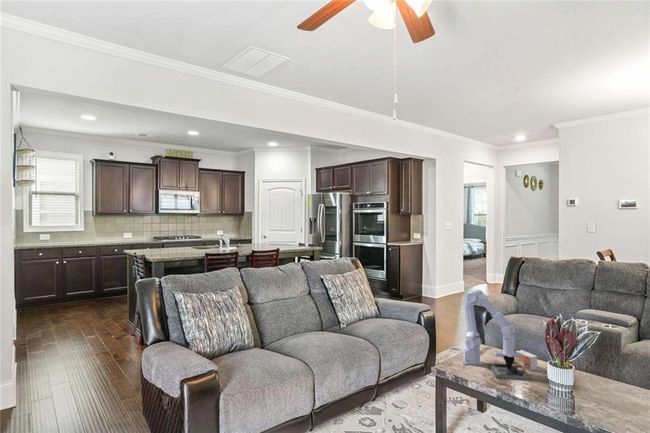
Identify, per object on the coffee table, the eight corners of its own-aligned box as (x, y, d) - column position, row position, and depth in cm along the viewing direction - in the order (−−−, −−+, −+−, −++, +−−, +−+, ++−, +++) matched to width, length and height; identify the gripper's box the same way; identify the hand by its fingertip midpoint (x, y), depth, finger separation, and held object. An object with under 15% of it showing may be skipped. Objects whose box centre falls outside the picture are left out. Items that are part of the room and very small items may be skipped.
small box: (515, 350, 224) (530, 357, 214) (522, 349, 226) (537, 355, 216) (515, 364, 224) (530, 371, 214) (522, 363, 226) (537, 369, 216)
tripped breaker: (511, 371, 211) (511, 364, 211) (510, 369, 213) (510, 363, 213) (517, 371, 210) (517, 365, 210) (516, 370, 212) (516, 363, 212)
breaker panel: (496, 378, 206) (496, 368, 206) (488, 366, 221) (488, 357, 221) (531, 380, 203) (531, 370, 203) (521, 368, 218) (521, 359, 218)
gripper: (497, 347, 209) (497, 371, 209) (524, 348, 207) (524, 373, 207) (493, 342, 216) (493, 366, 216) (520, 344, 214) (520, 367, 214)
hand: (508, 369), depth 212 cm, fingers closed
